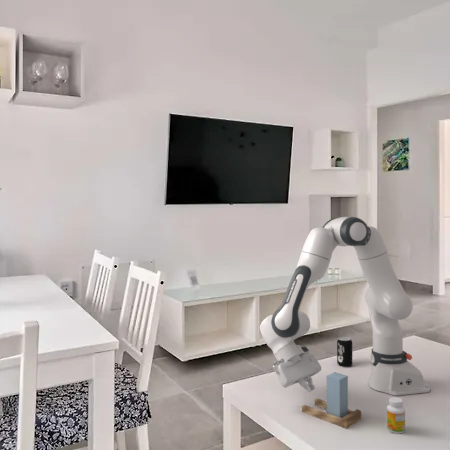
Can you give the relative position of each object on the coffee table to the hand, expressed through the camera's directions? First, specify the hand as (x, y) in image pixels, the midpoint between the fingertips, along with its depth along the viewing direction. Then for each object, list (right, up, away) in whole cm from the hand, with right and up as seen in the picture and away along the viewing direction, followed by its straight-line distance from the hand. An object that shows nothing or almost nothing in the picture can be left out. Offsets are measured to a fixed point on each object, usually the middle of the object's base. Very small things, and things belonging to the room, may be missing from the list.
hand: (311, 390), depth 164 cm
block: (+7, -7, -7) cm, 12 cm away
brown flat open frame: (+5, -7, -5) cm, 10 cm away
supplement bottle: (+24, -7, -16) cm, 29 cm away
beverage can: (+23, -4, +44) cm, 50 cm away
